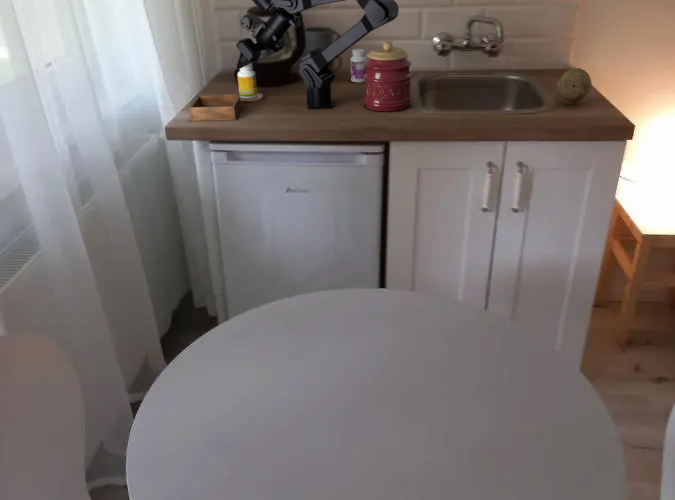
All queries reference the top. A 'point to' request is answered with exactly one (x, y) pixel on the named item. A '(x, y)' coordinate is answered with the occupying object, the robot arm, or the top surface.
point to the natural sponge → (573, 85)
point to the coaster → (258, 97)
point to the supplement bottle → (247, 82)
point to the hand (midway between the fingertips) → (246, 64)
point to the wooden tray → (215, 107)
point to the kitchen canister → (387, 79)
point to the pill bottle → (358, 65)
